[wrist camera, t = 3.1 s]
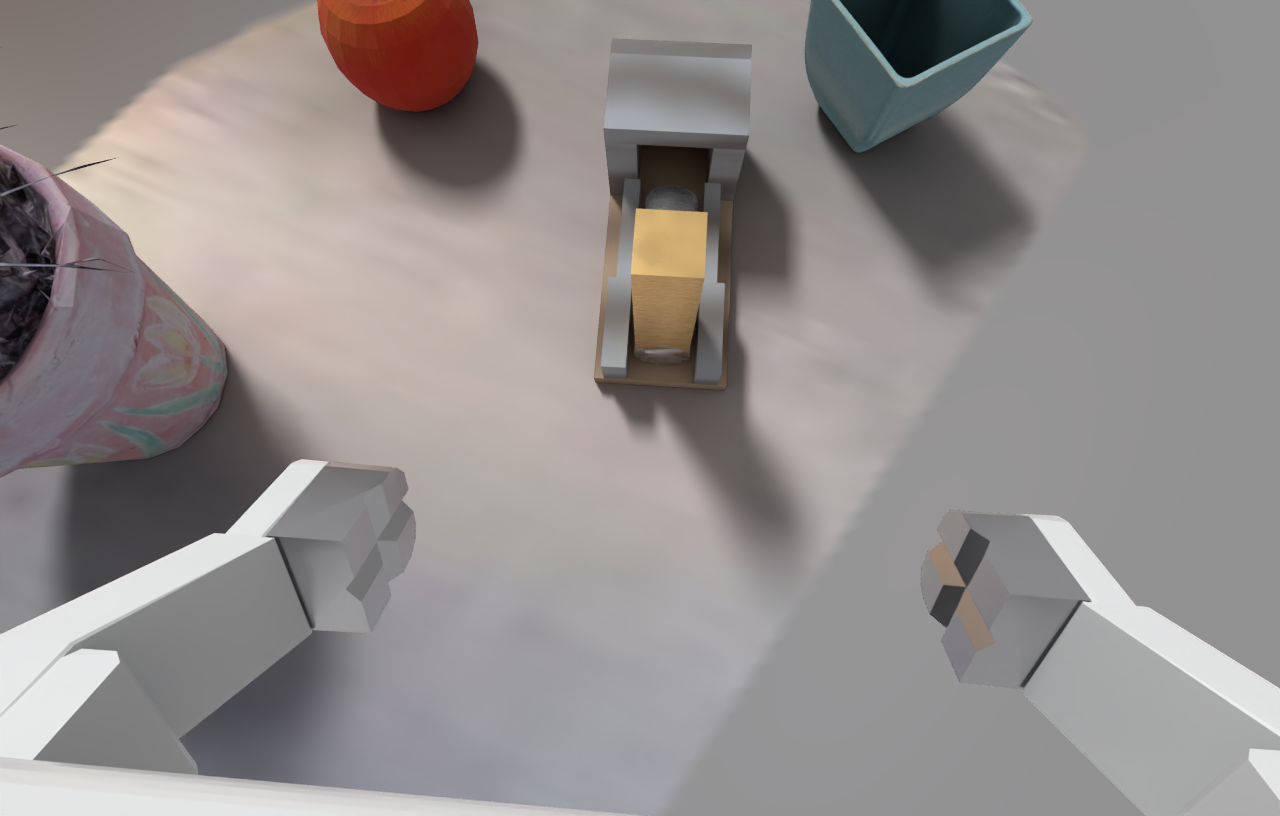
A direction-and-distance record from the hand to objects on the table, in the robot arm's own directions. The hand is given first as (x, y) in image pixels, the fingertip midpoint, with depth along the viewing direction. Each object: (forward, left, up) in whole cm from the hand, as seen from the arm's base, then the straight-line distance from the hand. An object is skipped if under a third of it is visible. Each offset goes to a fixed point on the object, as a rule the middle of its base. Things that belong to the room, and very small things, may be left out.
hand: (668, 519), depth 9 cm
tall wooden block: (+15, 0, -24) cm, 29 cm away
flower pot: (+30, -13, -26) cm, 42 cm away
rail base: (+18, 0, -26) cm, 31 cm away
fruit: (+31, +18, -26) cm, 44 cm away
